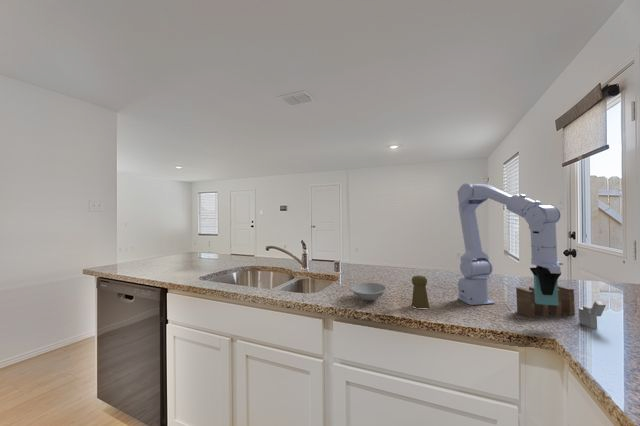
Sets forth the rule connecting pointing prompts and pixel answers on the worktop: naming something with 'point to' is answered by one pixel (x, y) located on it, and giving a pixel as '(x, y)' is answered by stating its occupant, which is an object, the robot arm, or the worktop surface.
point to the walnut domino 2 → (540, 306)
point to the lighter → (591, 314)
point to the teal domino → (545, 298)
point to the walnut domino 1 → (525, 302)
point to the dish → (368, 290)
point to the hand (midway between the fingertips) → (545, 293)
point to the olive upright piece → (419, 292)
